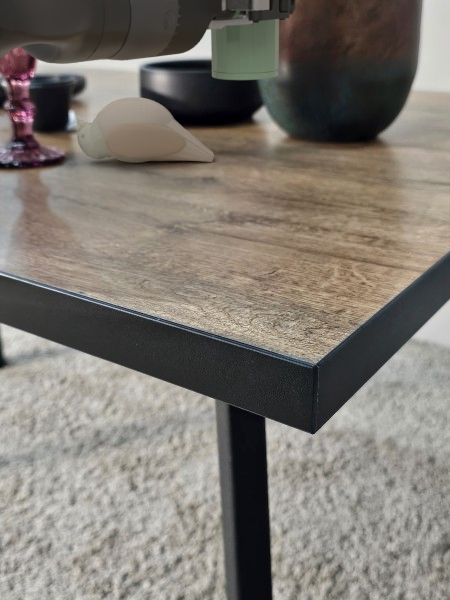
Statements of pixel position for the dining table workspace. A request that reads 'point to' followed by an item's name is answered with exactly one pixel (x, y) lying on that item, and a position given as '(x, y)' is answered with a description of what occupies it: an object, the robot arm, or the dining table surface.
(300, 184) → the dining table surface
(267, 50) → the cup
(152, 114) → the decorative bird
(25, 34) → the robot arm
